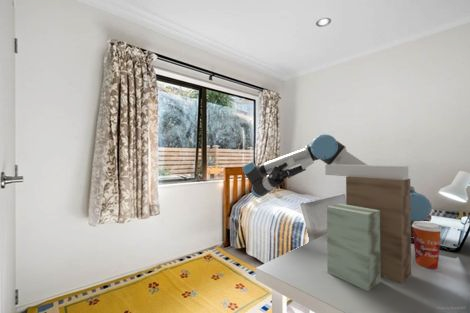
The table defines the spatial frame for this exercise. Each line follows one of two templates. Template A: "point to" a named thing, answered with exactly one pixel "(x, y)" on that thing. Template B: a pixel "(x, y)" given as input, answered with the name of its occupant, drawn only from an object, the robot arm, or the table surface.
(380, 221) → the wooden boards
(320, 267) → the table surface
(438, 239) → the paper cup
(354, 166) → the white block
